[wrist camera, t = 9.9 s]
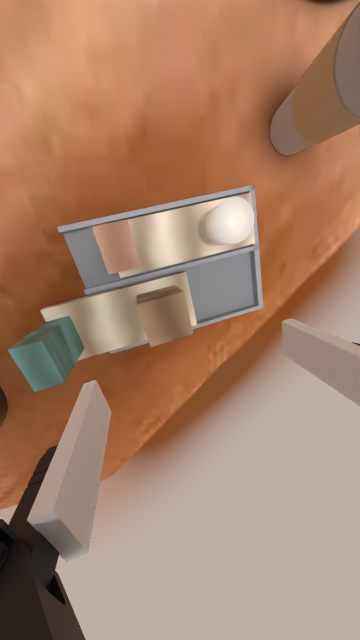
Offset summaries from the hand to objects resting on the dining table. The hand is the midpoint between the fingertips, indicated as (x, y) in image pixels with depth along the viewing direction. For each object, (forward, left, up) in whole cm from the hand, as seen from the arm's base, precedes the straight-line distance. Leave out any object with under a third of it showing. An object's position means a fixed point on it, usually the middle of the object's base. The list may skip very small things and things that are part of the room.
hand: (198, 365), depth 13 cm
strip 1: (+5, +9, -18) cm, 20 cm away
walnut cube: (-1, 0, -16) cm, 16 cm away
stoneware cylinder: (+9, +9, -16) cm, 20 cm away
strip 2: (-6, 0, -19) cm, 20 cm away
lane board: (+3, +4, -19) cm, 19 cm away
